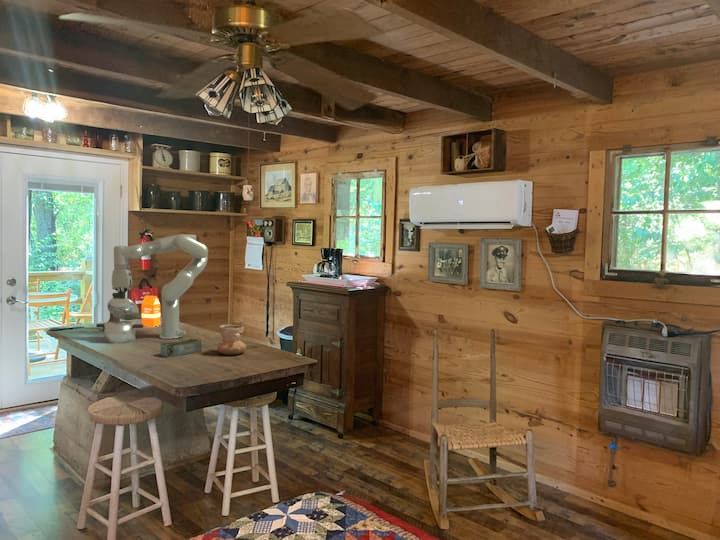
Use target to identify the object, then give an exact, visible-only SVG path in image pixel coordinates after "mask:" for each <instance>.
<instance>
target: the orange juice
mask: <svg viewBox="0 0 720 540" xmlns="http://www.w3.org/2000/svg"><path fill="white" fill-rule="evenodd" d="M141 324H144V326H147V327H146V328H153V327H154V328H156V327H155V326H157V327H160V326H161V303H160V301H159V297H158V296H157V295H147V294H146V295H145V296H144V297H143V300H142V302H141ZM159 325H160V326H159Z"/></svg>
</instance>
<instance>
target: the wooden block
mask: <svg viewBox="0 0 720 540" xmlns="http://www.w3.org/2000/svg"><path fill="white" fill-rule="evenodd" d="M113 321H121V319H119V318H116V317H115V316H113V315H112V314H111V313H110V312H109V318H108V321H107V322H113ZM105 323H106V322H104V323H102V324H105ZM102 331H103V332H105V330H104V327H102Z"/></svg>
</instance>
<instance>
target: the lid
mask: <svg viewBox="0 0 720 540" xmlns="http://www.w3.org/2000/svg"><path fill="white" fill-rule="evenodd" d="M111 296H112V298H110V300H108V303H107V310H108V311H109V314H110V313H111V314H112V315H113V316H115V317H116V318H119V319H120V320H121V321H132V320H135V319H136V318H137V317H138V315H139V313H140V311H139V310H140V309H139V307H138V304H136V302H134V301H133V300H132V299H130V298H128V297H126V294H125V295H124V293H118V292H112V294H111Z"/></svg>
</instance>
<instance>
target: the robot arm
mask: <svg viewBox="0 0 720 540" xmlns="http://www.w3.org/2000/svg"><path fill="white" fill-rule="evenodd" d="M178 250H182V251H183V252H185V253H187V254H189V255H191V256H193V257H192V259H191V261H190V262H189V263H188V264H187V265H185V266H184V268H182V270H180V271H179V272H178V273H177V274H176V277H174V278H173V279H172V280H171V281H170V282H169V283H166V284H164V285H163V286H162V289H161V328H162V329H161V332H162V334H160V335H159V337H158V338H160V339H163V340H170V339H171V340H174V339H179V337H180V338H183V335H185V336H186V335H187V331H186V330H182V328H180V297H181V296H182V295H183V294H184V293H186V291H187V290H188V289H189V288H190V287H191V286H192V285H193V283H194V280H195V279H196V278H197V277H198V276H199V275H200V274H201V272H203V271H204V269H205V268H206V267H207V263H208V260H209V259H208V258H209V255H208V254H209V248H208V247H207V246H206V245H205V244H203V243H202V242H199V241H198V240H196V239H193V237H190V236H189V235H187V234H184V233H180V234H175V235H170V236H167V237H161V238H158V239H154V240H151V241H147V242H142V243H138V244H134V245H129V246H127V245H115V246H114V247H113V271H112V274H111V287H112V288H111V290H114V291H116V293H124V295H125V296H126V293H127V292H128V291H129V290H132V287H133V278H132V272H131V270H130V269H131V268H132V266H131V265H130V263H129V259H133V260H134V259H137V260H138V259H140V258H142V257H145V256H146V257H147V256H150V255H156V254H157V255H159V254H166V253H170V252H173V251H178ZM173 338H174V339H173Z"/></svg>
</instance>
